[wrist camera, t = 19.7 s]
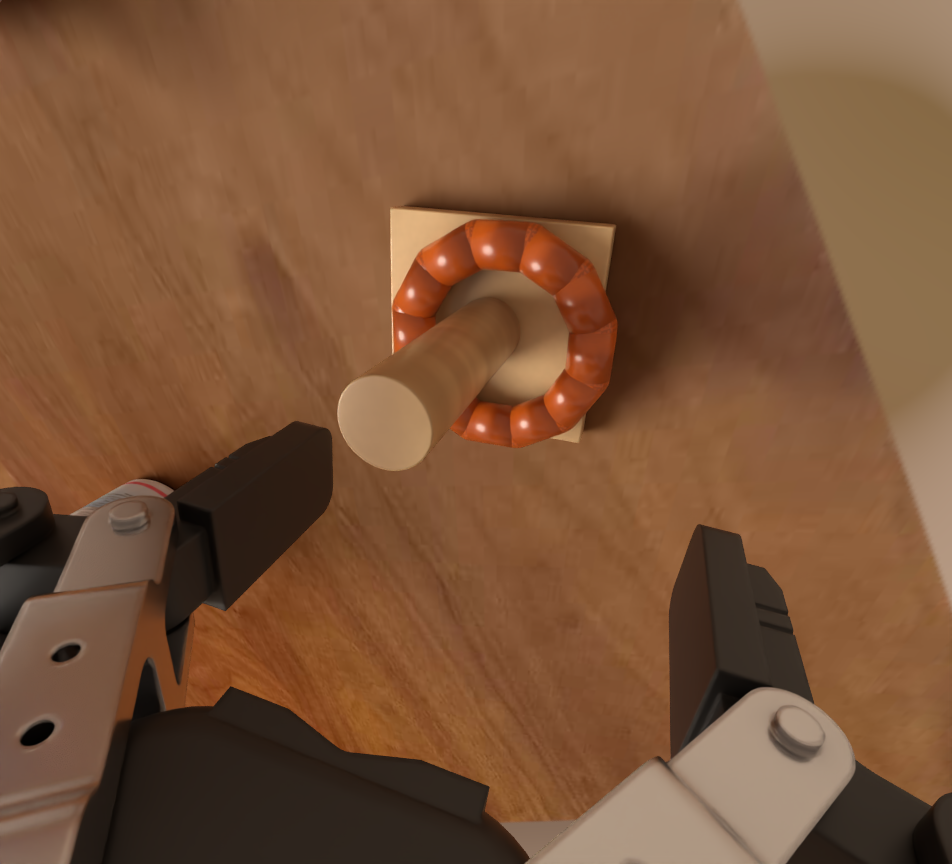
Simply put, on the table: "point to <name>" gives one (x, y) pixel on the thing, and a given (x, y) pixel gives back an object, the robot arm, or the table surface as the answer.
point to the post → (463, 344)
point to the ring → (553, 272)
